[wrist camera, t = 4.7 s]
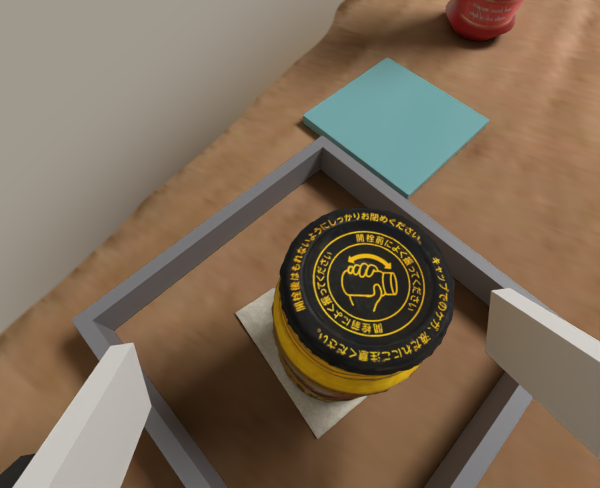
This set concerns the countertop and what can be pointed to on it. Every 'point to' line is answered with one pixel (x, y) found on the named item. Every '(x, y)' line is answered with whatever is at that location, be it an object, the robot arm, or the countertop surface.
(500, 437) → the frame
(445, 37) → the countertop surface
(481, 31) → the liquor
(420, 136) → the coaster
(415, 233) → the condiment
